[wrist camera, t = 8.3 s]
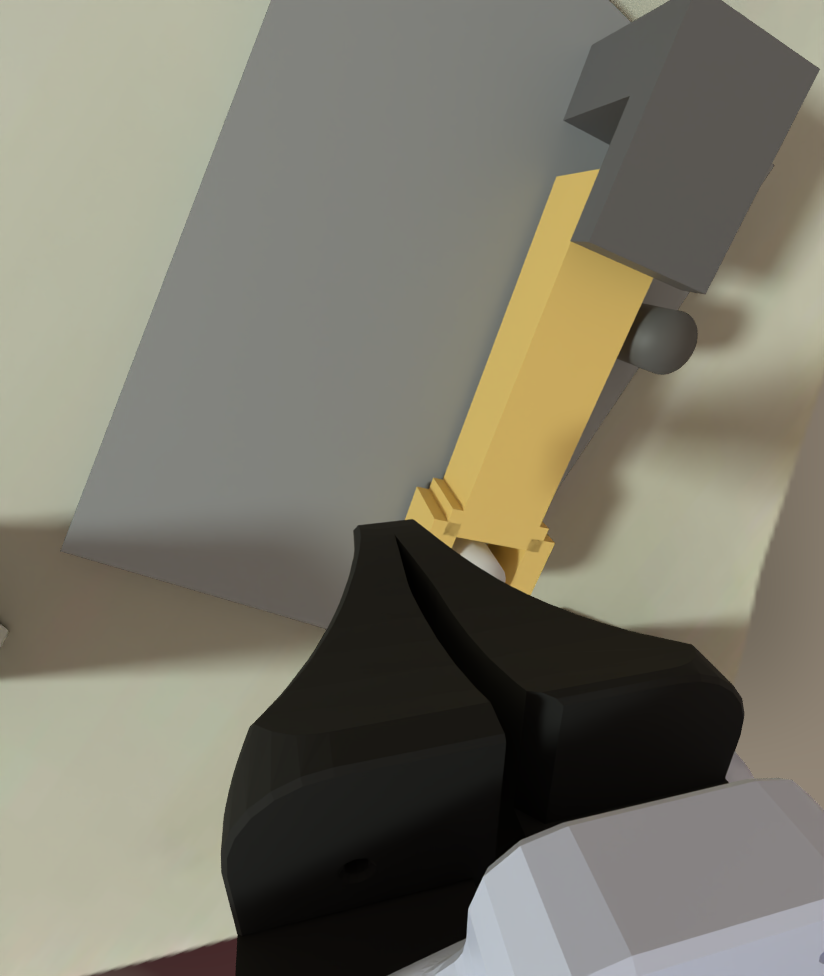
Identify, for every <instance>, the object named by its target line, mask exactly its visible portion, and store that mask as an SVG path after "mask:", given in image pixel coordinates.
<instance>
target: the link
mask: <svg viewBox="0 0 824 976" xmlns="http://www.w3.org/2000/svg"><path fill="white" fill-rule="evenodd" d="M599 170H600V169H596V170H591V171H585V172H579V173H574V174H568V175H563V176H557V177H556V179H555V182H554V184H553V187H552V190H551V192H550V195H549V198H548V200H547V203H546V206H545V208H544V211H543V214H542V216H541V219H540V222H539V224H538V227H537V230H536V232H535V235H534V238H533V240H532V243H531V246H530V248H529V251H528V254H527V256H526V259H525V262H524V265H523V267H522V270H521V273H520V275H519V278H518V281H517V283H516V286H515V289H514V291H513V294H512V297H511V299H510V302H509V305H508V307H507V310H506V313H505V315H504V318H503V321H502V323H501V326H500V329H499V331H498V334H497V337H496V339H495V342H494V345H493V347H492V350H491V353H490V355H489V358H488V361H487V363H486V366H485V369H484V371H483V374H482V377H481V379H480V382H479V385H478V387H477V390H476V393H475V395H474V398H473V401H472V403H471V406H470V409H469V411H468V414H467V417H466V419H465V422H464V425H463V427H462V430H461V433H460V435H459V438H458V441H457V443H456V446H455V449H454V451H453V454H452V457H451V459H450V462H449V465H448V467H447V470H446V473H445V475H444V478H443V480H442V479H438V478H434V477H433V480H432V482H431V485H430V488H429V489H426V488H421V487H416V490H415V493H414V496H413V499H412V501H411V504H410V507H409V510H408V513H407V515H406V518H405V520H408V519H414V520H415V521H416V522H418V523H419V524H420V525H422V526H423V527H424V528H425V529H427V530H428V531H429V532H431V533H432V534H433V535H434V536H436V537H437V538H438V539H440V540H441V541H442V542H443V543H445V544H446V545H448V546H449V547H450V548H452V546H453V544H454V541H455V539H456V537H459V538H464V539H469V540H475V541H480V542H485V543H489V544H488V548H489V549H490V551H491V552H492V554H493V555H494V557H495V558H496V560H497V561H498V563H499V564H500V566H501V567H502V569H503V570H504V572H505V577H506V580H505V583H506V584H508V585H510V586H512V587H514V588H516V589H518V590H520V591H522V592H524V593H526V594H528V595H531V593H532V591H533V589H534V587H535V584H536V582H537V580H538V578H539V576H540V574H541V572H542V570H543V568H544V566H545V563H546V561H547V559H548V557H549V555H550V553H551V551H552V549H553V547H554V544H555V543H554V541H553V540H552V539H551V538H550V537H549V536H548V535H547V532H548V530H549V528H548V527H547V526H546V525H545V524H544V523H543V522H542V520H543V518H544V516H545V514H546V512H547V509H548V507H549V505H550V503H551V501H552V498H553V496H554V494H555V492H556V490H557V488H558V485H559V483H560V481H561V479H562V477H563V474H564V472H565V470H566V468H567V466H568V464H569V461H570V459H571V457H572V455H573V453H574V450H575V448H576V446H577V444H578V442H579V439H580V437H581V435H582V433H583V431H584V429H585V426H586V424H587V422H588V420H589V418H590V415H591V413H592V411H593V409H594V407H595V405H596V402H597V400H598V398H599V396H600V394H601V391H602V389H603V387H604V385H605V383H606V380H607V378H608V376H609V374H610V372H611V370H612V367H613V365H614V363H615V361H616V359H617V356H618V354H619V352H620V350H621V348H622V346H623V343H624V341H625V339H626V337H627V335H628V332H629V330H630V328H631V326H632V324H633V321H634V319H635V317H636V315H637V313H638V311H639V308H640V306H641V304H642V302H643V300H644V297H645V295H646V293H647V291H648V289H649V287H650V284H651V282H652V280H653V277H650V276H648V275H646V274H643V273H641V272H639V271H637V270H634V269H632V268H630V267H628V266H625V265H623V264H621V263H619V262H616V261H614V260H612V259H610V258H607V257H605V256H603V255H601V254H598V253H596V252H594V251H591V250H589V249H587V248H585V247H582V246H580V245H578V244H576V243H573V242H571V241H570V240H571V238H572V236H573V233H574V231H575V228H576V226H577V223H578V221H579V219H580V216H581V214H582V211H583V209H584V206H585V204H586V202H587V199H588V197H589V194H590V192H591V189H592V187H593V185H594V182H595V180H596V177H597V175H598V172H599Z"/></svg>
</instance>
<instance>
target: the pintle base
mask: <svg viewBox="0 0 824 976" xmlns="http://www.w3.org/2000/svg"><path fill="white" fill-rule="evenodd" d="M819 70H820V69H819V68H818V67H816V66H815V65H813V64H812V63H811V62H809V61H808V60H806V59H805V58H803V57H802V56H800V55H799V54H798V53H796V52H795V51H793V50H792V49H790V48H789V47H788V46H786V45H785V44H783V43H782V42H780V41H779V40H778V39H776V38H775V37H773V36H772V35H770V34H769V33H767V32H766V31H765V30H763V29H762V28H760V27H759V26H757V25H756V24H755V23H753V22H752V21H750V20H749V19H747V18H746V17H745V16H743V15H742V14H740V13H739V12H737V11H736V10H734V9H733V8H732V7H730V6H729V5H727V4H726V3H724V2H723V1H722V0H669V1H668V2H666V3H664V4H663V5H661V6H659V7H658V8H656V9H654V10H652V11H651V12H649V13H647V14H645V15H644V16H642V17H640V18H638V19H637V20H635V21H633V22H630V21H629V20H628V19H627V18H626V17H625V16H624V15H623V14H622V13H621V12H620V11H619V10H618V9H617V8H616V7H615V6H614V5H613V4H612V3H611V2H610V1H609V0H271V2H270V4H269V7H268V10H267V12H266V15H265V18H264V20H263V23H262V25H261V28H260V31H259V33H258V36H257V38H256V41H255V44H254V46H253V49H252V52H251V54H250V57H249V59H248V62H247V65H246V67H245V70H244V72H243V75H242V78H241V80H240V83H239V85H238V88H237V91H236V93H235V96H234V99H233V101H232V104H231V106H230V109H229V112H228V114H227V117H226V119H225V122H224V125H223V127H222V130H221V132H220V135H219V138H218V140H217V143H216V146H215V148H214V151H213V153H212V156H211V159H210V161H209V164H208V166H207V169H206V172H205V174H204V177H203V180H202V182H201V185H200V187H199V190H198V193H197V195H196V198H195V200H194V203H193V206H192V208H191V211H190V213H189V216H188V219H187V221H186V224H185V227H184V229H183V232H182V234H181V237H180V240H179V242H178V245H177V247H176V250H175V253H174V255H173V258H172V261H171V263H170V266H169V268H168V271H167V274H166V276H165V279H164V281H163V284H162V287H161V289H160V292H159V294H158V297H157V300H156V302H155V305H154V308H153V310H152V313H151V315H150V318H149V321H148V323H147V326H146V328H145V331H144V334H143V336H142V339H141V341H140V344H139V347H138V349H137V352H136V355H135V357H134V360H133V362H132V365H131V368H130V370H129V373H128V375H127V378H126V381H125V383H124V386H123V389H122V391H121V394H120V396H119V399H118V402H117V404H116V407H115V409H114V412H113V415H112V417H111V420H110V422H109V425H108V428H107V430H106V433H105V436H104V438H103V441H102V443H101V446H100V449H99V451H98V454H97V456H96V459H95V462H94V464H93V467H92V469H91V472H90V475H89V477H88V480H87V483H86V485H85V488H84V490H83V493H82V496H81V498H80V501H79V503H78V506H77V509H76V511H75V514H74V517H73V519H72V522H71V524H70V527H69V530H68V532H67V535H66V537H65V540H64V543H63V545H62V548H61V550H60V551H62V552H65V553H68V554H72V555H75V556H79V557H82V558H85V559H89V560H92V561H96V562H99V563H103V564H106V565H109V566H113V567H116V568H120V569H123V570H127V571H130V572H133V573H137V574H140V575H144V576H147V577H150V578H154V579H157V580H161V581H164V582H168V583H171V584H174V585H178V586H181V587H185V588H188V589H191V590H195V591H198V592H202V593H205V594H209V595H212V596H215V597H219V598H222V599H226V600H229V601H233V602H236V603H239V604H243V605H246V606H250V607H253V608H256V609H260V610H263V611H267V612H270V613H274V614H277V615H280V616H284V617H287V618H291V619H294V620H298V621H301V622H304V623H308V624H311V625H315V626H318V627H321V628H325V629H327V628H328V626H329V624H330V622H331V620H332V618H333V616H334V614H335V612H336V610H337V607H338V605H339V603H340V600H341V597H342V595H343V592H344V589H345V586H346V583H347V580H348V577H349V574H350V570H351V565H352V561H353V557H354V536H353V530H354V529H355V528H356V527H357V526H358V525H364V524H373V523H382V522H391V521H399V520H405V518H406V515H407V513H408V510H409V507H410V504H411V501H412V499H413V496H414V493H415V490H416V487H421V488H426V489H429V488H430V485H431V482H432V480H433V477H434V478H438V479H442V480H443V478H444V475H445V473H446V470H447V467H448V465H449V462H450V459H451V457H452V454H453V451H454V449H455V446H456V443H457V441H458V438H459V435H460V433H461V430H462V427H463V425H464V422H465V419H466V417H467V414H468V411H469V409H470V406H471V403H472V401H473V398H474V395H475V393H476V390H477V387H478V385H479V382H480V379H481V377H482V374H483V371H484V369H485V366H486V363H487V361H488V358H489V355H490V353H491V350H492V347H493V345H494V342H495V339H496V337H497V334H498V331H499V329H500V326H501V323H502V321H503V318H504V315H505V313H506V310H507V307H508V305H509V302H510V299H511V297H512V294H513V291H514V289H515V286H516V283H517V281H518V278H519V275H520V273H521V270H522V267H523V265H524V262H525V259H526V256H527V254H528V251H529V248H530V246H531V243H532V240H533V238H534V235H535V232H536V230H537V227H538V224H539V222H540V219H541V216H542V214H543V211H544V208H545V206H546V203H547V200H548V198H549V195H550V192H551V190H552V187H553V184H554V182H555V179H556V177H557V176H563V175H568V174H574V173H579V172H585V171H591V170H596V169H600V170H599V172H598V175H597V177H596V180H595V182H594V185H593V187H592V189H591V192H590V194H589V197H588V199H587V202H586V204H585V206H584V209H583V211H582V214H581V216H580V219H579V221H578V223H577V226H576V228H575V231H574V233H573V236H572V238H571V240H570V241H571V242H573V243H576V244H578V245H580V246H582V247H585V248H587V249H589V250H591V251H594V252H596V253H598V254H601V255H603V256H605V257H607V258H610V259H612V260H614V261H616V262H619V263H621V264H623V265H625V266H628V267H630V268H632V269H634V270H637V271H639V272H641V273H643V274H646V275H648V276H650V277H653V280H652V282H651V284H650V287H649V289H648V291H647V293H646V295H645V297H644V300H643V302H642V304H641V306H640V308H639V311H638V313H637V315H636V317H635V319H634V321H633V324H632V326H631V328H630V330H629V332H628V335H627V337H626V339H625V341H624V343H623V346H622V348H621V350H620V352H619V354H618V356H617V359H616V361H615V363H614V365H613V367H612V370H611V372H610V374H609V376H608V378H607V380H606V383H605V385H604V387H603V389H602V391H601V394H600V396H599V398H598V400H597V402H596V405H595V407H594V409H593V411H592V413H591V415H590V418H589V420H588V422H587V424H586V426H585V429H584V431H583V433H582V435H581V437H580V439H579V442H578V444H577V446H576V448H575V450H574V453H573V455H572V457H571V459H570V461H569V464H568V466H567V468H566V470H565V472H564V474H563V477H562V479H561V481H560V483H559V485H558V488H559V486H560V485H561V483H562V482H563V480H564V479H565V477H566V476H567V474H568V473H569V471H570V470H571V469H572V467H573V466H574V464H575V463H576V461H577V460H578V458H579V457H580V455H581V454H582V452H583V451H584V449H585V448H586V446H587V445H588V443H589V442H590V440H591V439H592V437H593V436H594V434H595V433H596V431H597V430H598V428H599V427H600V425H601V424H602V422H603V421H604V419H605V418H606V416H607V415H608V413H609V412H610V410H611V409H612V407H613V406H614V404H615V403H616V401H617V400H618V398H619V397H620V395H621V394H622V392H623V391H624V389H625V388H626V386H627V385H628V383H629V382H630V380H631V379H632V377H633V376H634V374H635V373H636V371H637V370H638V368H642V369H645V370H647V371H650V372H652V373H655V374H661V375H663V374H669V373H672V372H674V371H676V370H678V369H679V368H681V367H682V366H683V365H684V364H685V363H686V362H687V361H688V359H689V358H690V357H691V355H692V353H693V351H694V349H695V346H696V343H697V335H698V333H697V326H696V323H695V321H694V320H693V318H692V317H691V316H690V315H689V314H687V313H685V312H682V311H678V309H679V307H680V306H681V304H682V303H683V301H684V300H685V298H686V297H687V295H688V294H689V292H695V293H701V294H706V292H707V290H708V288H709V286H710V284H711V282H712V280H713V278H714V276H715V274H716V272H717V270H718V268H719V266H720V264H721V263H722V261H723V259H724V257H725V255H726V253H727V251H728V249H729V247H730V245H731V243H732V241H733V239H734V237H735V235H736V233H737V231H738V229H739V227H740V225H741V223H742V221H743V219H744V217H745V215H746V213H747V211H748V209H749V207H750V206H751V204H752V202H753V200H754V198H755V196H756V194H757V192H758V190H759V188H760V186H761V185H762V183H763V182H764V180H765V179H766V177H767V176H768V174H769V173H770V171H771V170H772V168H773V167H774V164H773V163H772V162H773V160H774V158H775V156H776V154H777V152H778V150H779V148H780V147H781V145H782V143H783V141H784V139H785V137H786V135H787V133H788V131H789V129H790V127H791V125H792V123H793V121H794V119H795V117H796V115H797V113H798V111H799V109H800V107H801V105H802V103H803V101H804V99H805V97H806V95H807V93H808V91H809V90H810V88H811V86H812V84H813V82H814V80H815V78H816V76H817V74H818V72H819ZM558 488H557V489H558ZM556 491H557V490H556ZM488 544H489V543H485V542H480V541H475V540H469V539H464V538H459V537H456V539H455V541H454V544H453V546H452V549H453V550H454V551H456V552H457V553H458V554H460V555H461V556H463V557H464V558H466V559H467V560H469V561H470V562H472V563H473V564H475V565H476V566H478V567H479V568H481V569H483V570H484V571H486V572H487V573H489V574H491V575H492V576H494V577H496V578H497V579H499V580H501V581H503V582H504V583H505V580H506V577H505V572H504V570H503V569H502V567H501V566H500V564H499V563H498V561H497V560H496V558H495V557H494V555H493V554H492V552H491V551H490V549H489V548H488Z"/></svg>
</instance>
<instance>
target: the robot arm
mask: <svg viewBox="0 0 824 976" xmlns="http://www.w3.org/2000/svg"><path fill="white" fill-rule="evenodd" d="M353 536H354V557H353V561H352V565H351V570H350V574H349V577H348V580H347V583H346V586H345V589H344V592H343V595H342V597H341V600H340V603H339V605H338V607H337V610H336V612H335V614H334V616H333V618H332V620H331V622H330V624H329V626H328V628H327V630H326V632H325V633H324V635H323V637H322V638H321V640H320V642H319V643H318V645H317V647H316V649H315V650H314V652H313V653H312V655H311V656H310V658H309V659H308V661H307V662H306V663H305V665H304V666H303V667H302V669H301V670H300V671H299V672H298V674H297V675H296V676H295V678H294V679H293V680H292V682H291V683H290V684H289V685H288V687H287V688H286V689H285V690H284V692H283V693H282V694H281V695H280V696H279V697H278V698H277V699H276V700H275V701H274V702H273V704H272V705H271V706H270V707H269V708H268V709H267V710H266V711H265V712H264V713H263V714H262V715H261V716H260V717H259V718H258V719H257V720H256V721H255V722H254V723H253V724H252V725H251V726H250V728H249V730H248V733H247V735H246V738H245V741H244V744H243V746H242V749H241V752H240V755H239V758H238V761H237V764H236V767H235V770H234V774H233V777H232V781H231V785H230V789H229V793H228V798H227V803H226V807H225V813H224V821H223V833H222V845H221V873H222V877H223V880H224V884H225V888H226V892H227V896H228V900H229V904H230V907H231V911H232V915H233V919H234V923H235V927H236V931H237V934H238V938H237V957H236V976H824V810H823V808H822V807H821V806H820V805H819V804H818V803H817V802H816V801H815V800H814V799H813V798H812V797H811V796H810V795H809V794H808V793H807V792H806V791H805V790H803V789H802V788H801V787H800V786H799V785H798V784H796V783H795V782H794V781H793V780H789V779H783V778H763V779H762V778H761V779H754V777H753V775H752V773H751V771H750V770H749V768H748V767H747V765H746V764H745V763H744V761H743V760H742V759H741V758H740V757H739V756H738V754H737V753H736V752H735V749H736V746H737V743H738V740H739V738H740V735H741V730H742V724H743V719H744V709H743V703H742V698H741V696H740V695H739V693H738V692H737V690H736V689H735V687H734V686H733V685H732V684H731V683H730V682H729V681H728V680H727V679H726V678H725V677H724V676H723V675H722V674H721V673H720V672H719V671H718V670H717V669H716V668H715V667H714V666H713V665H712V664H711V663H710V662H709V661H708V660H707V659H706V658H705V657H704V656H703V655H702V654H701V653H700V652H699V651H698V650H697V649H696V648H695V647H694V646H693V645H692V644H687V643H682V642H678V641H673V640H668V639H664V638H659V637H654V636H650V635H645V634H640V633H636V632H632V631H628V630H625V629H621V628H618V627H614V626H611V625H607V624H604V623H600V622H597V621H594V620H591V619H588V618H585V617H582V616H579V615H576V614H574V613H571V612H568V611H566V610H563V609H561V608H558V607H556V606H553V605H550V604H548V603H546V602H543V601H541V600H539V599H536V598H534V597H532V596H530V595H528V594H526V593H524V592H522V591H520V590H518V589H516V588H514V587H512V586H510V585H508V584H506V583H504V582H503V581H501V580H499V579H497V578H496V577H494V576H492V575H491V574H489V573H487V572H486V571H484V570H483V569H481V568H479V567H478V566H476V565H475V564H473V563H472V562H470V561H469V560H467V559H466V558H464V557H463V556H461V555H460V554H458V553H457V552H456V551H454V550H453V549H452V548H450V547H449V546H448V545H446V544H445V543H443V542H442V541H441V540H440V539H438V538H437V537H436V536H434V535H433V534H432V533H431V532H429V531H428V530H427V529H425V528H424V527H423V526H422V525H420V524H419V523H418V522H416V521H415V520H414V519H408V520H399V521H391V522H382V523H373V524H364V525H358V526H357V527H356V528H355V529H354V530H353Z"/></svg>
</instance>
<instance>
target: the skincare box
mask: <svg viewBox="0 0 824 976" xmlns="http://www.w3.org/2000/svg"><path fill="white" fill-rule="evenodd" d="M7 635H8V630H7V629H6V628H5V627H4V626H2V625H1V624H0V647H1V646H2V644H3V642H4V641H5V639H6V637H7Z"/></svg>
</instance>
